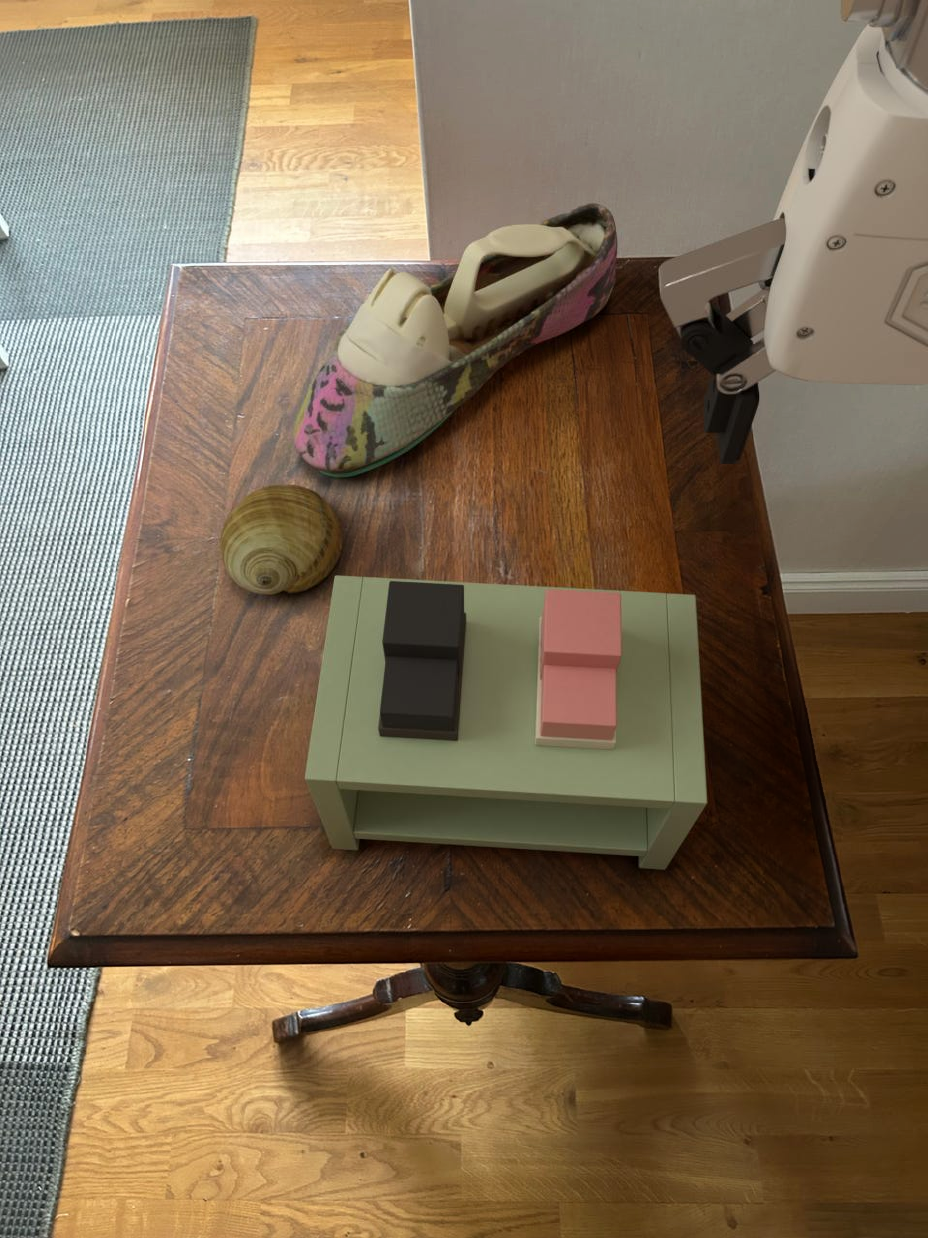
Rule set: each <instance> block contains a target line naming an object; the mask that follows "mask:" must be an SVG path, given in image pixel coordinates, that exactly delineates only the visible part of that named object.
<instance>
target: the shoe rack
mask: <svg viewBox="0 0 928 1238" xmlns="http://www.w3.org/2000/svg"><path fill="white" fill-rule="evenodd" d="M390 581H401V582H420V583H438V584H457V585H464V613H466V633H465V647H464V661H463V675H462V689H461V702H460V716H459V730H458V740H457V741H451V740H434V739H417V738H401V737H384V736H380V735H379V730H378V726H379V717H380V705H381V696H382V687H383V679H384V670H385V657H384V650H383V644H382V640H383V631H384V623H385V614H386V606H387V597H388V589H389V582H390ZM546 589H553V590H572V591H590V592H609V593H620V594H621V625H622V657H621V660H620V663H619V667H618V670H617V674H616V698H617V726H616V744H615V747H614V749H613V750H610V749H593V748H576V747H559V746H542V745H535V723H536V692H537V660H538V628H539V619H540V617H542V613H543V606H544V598H545V591H546ZM331 592H332V593H331V599H330V604H329V605H330V606H329V612H328V619H327V626H326V634H325V639H324V646H323V653H322V660H321V666H320V673H319V681H318V687H317V694H316V699H315V700H316V701H315V706H314V712H313V721H312V726H311V732H310V734H311V735H310V739H309V740H310V741H309V748H308V754H307V760H306V767H305V774H304V780H305V783H306V785H307V788H308V790H309V793H310V795H311V798H312V801H313V802H314V805H315V807H316V811H317V814H318V816H319V819H320V821H321V823H322V826H323V828H324V829H323V830H324V832H325V833H326V836H327V838H328V841H329V843H330V846H331V848H332V850H344V851H359V848H360V840H372V841H373V840H375V841H392V842H405V843H406V842H407V843H422V844H424V843H425V844H439V845H456V846H469V847H470V846H471V847H472V846H473V847H488V848H502V849H517V850H518V849H519V850H537V851H549V852H550V851H551V852H552V851H553V852H566V853H583V854H598V855H599V854H600V855H617V856H629V857H631V856H632V857H638V869H647V870H650V869H651V870H664V871H665V870H666V869H667V867H668V866H669V865H670V863H671V861H672V860H673V858H674V857H675V855H676V853H677V852H678V850H679V849H680V847H681V846H682V844H683V842H684V841H685V839H686V837H687V836H688V834H689V833H690V831H691V829H692V828H693V826H694V825H695V823H696V821H698V819H699V817H700V815H701V814H702V812H703V811H704V809H705V807H706V806H707V804H708V791H707V775H706V774H707V772H706V759H705V758H706V754H705V753H706V752H705V738H704V737H705V736H704V721H703V720H704V719H703V701H702V685H701V683H702V682H701V667H700V666H701V665H700V648H699V647H700V645H699V632H698V631H699V630H698V613H697V611H698V610H697V597H696V594H685V593H668V592H652V591H635V590H634V591H633V590H616V589H595V588H577V587H560V586H559V587H558V586H557V587H556V586H542V585H541V586H540V585H539V586H538V585H523V584H522V585H521V584H503V583H486V582H485V583H484V582H483V583H482V582H467V581H466V582H464V581H449V580H448V581H447V580H446V581H445V580H428V579H411V578H410V579H408V578H393V577H392V578H390V577H371V576H355V575H335V576H334V579H333V585H332V591H331Z"/></svg>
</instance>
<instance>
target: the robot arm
mask: <svg viewBox="0 0 928 1238" xmlns="http://www.w3.org/2000/svg"><path fill="white" fill-rule="evenodd" d="M840 16H841V20H842V21H843V22H867V23H868V24H867V25H866V26H865V27H864V29H862V31H861V33H860V34H859V36H858V37H857V39H856V41H855V43H854V44H853V46H852V47H851V50H850V51H849V53H848V55H847V56H846V58H845V59H844V61H843V63H842V65H841V66H840V69H839V70H838V73H836V76H835V78H834V79H833V82H832V83H831V85H830V87H829V89H828V91H827V93H826V95H825V97H824V99H823V101H822V103H821V105H820V107H819V108H818V111H817V113H816V115H815V117H814V119H813V122H812V123H811V126H810V128H809V130H808V132H807V135H806V137H805V139H804V141H803V144H802V146H801V148H800V151H799V153H798V155H797V158H796V160H795V162H794V165H793V167H792V170H791V172H790V174H789V178H788V180H787V183H786V185H785V188H784V190H783V192H782V195H781V198H780V201H779V202H778V203H779V204H778V206H777V209H776V211H775V215H774V217H773V220H771V221H769V222H767V223H764V224H761V225H758V226H756V227H753V228H750V229H747V230H745V231H742V232H739V233H736V234H734V235H732V236H729V237H726V238H723V239H721V240H720V239H719V240H718V241H715V242H712V243H710V244H707V245H705V246H702V247H699V248H696V249H694V250H691V251H688V252H686V253H682V254H681V255H677V256H675V257H672V258H669V259H667V260H664V262H662V263H661V265H659V268H658V288H659V299H660V301H661V304H662V305H663V307H664V309H665V312H666V314H667V315H668V317H669V319H670V321H671V324H672V326H673V328H674V329H675V330H676V332H677V334H678V336H679V339H680V344H681V348H682V349H683V350H684V352H686V353H687V354H688V355H689V356H691V358H693V359H694V360H695V361H696V362H698V363H699V364H700V365H701V367H703V368H704V369H705V370H706V371H708V372H709V374H711V375H710V378H709V382H708V386H707V390H706V394H705V398H704V402H703V411H702V413H703V415H702V416H703V417H702V418H703V428H704V433H705V434H717V444H718V446H717V447H718V457H719V463H720V465H735V464H736V462H740V461H741V458H742V455H743V452H744V449H745V446H746V444H747V440H748V437H749V436H750V435H749V434H750V431H751V428H752V425H753V423H754V419H755V416H756V414H757V411H758V408H759V405H760V387H759V382H761V381H763V380H764V379H766V378H767V377H769V376H770V375H772V374H773V373H775V372H777V373H779V374H781V375H783V376H786V377H789V378H792V379H795V380H800V381H804V382H812V383H827V384H828V383H830V384H847V385H848V384H852V385H854V384H855V385H885V386H887V385H888V386H889V385H891V386H928V0H840ZM757 283H758V286H759V288H760V289H761V290H759V291H758V292H757V293H755V294H754V295H752V296H751V297H750V298H748V299H747V300H745V301H744V302H742V303H740V304H739V305H738V306H736V307H735V308H734V309H732V310H731V311H729V312H728V313H727V314H725V313H724V312H723V311H722V310H721V309H720V308H719V307H718V306H717V305H716V304H715V303H713V302H712V301H711V300H713V299H715V298H717V297H720V296H723V295H725V294H728V293H731V292H734V291H737V290H740V289H742V288H746V287H748V286H751V285H754V284H757ZM761 332H763V337H762V338H760V339H759V340H758V341H756V342H754V340H753V338H754V337H756V336H757V335H758V334H760V333H761Z"/></svg>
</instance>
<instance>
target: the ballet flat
mask: <svg viewBox="0 0 928 1238" xmlns="http://www.w3.org/2000/svg"><path fill="white" fill-rule="evenodd" d="M618 244H619V243H618V234H617V227H616V222H615V217H614V216H613V214H612V212H611V210H609V209H608V208H607V207H605V206H604V205H602V204H599V203H594V202H591V203H585V204H582V205H579V206H576V207H573V209H570V210H569V211H567V212H565V213H561V214H558V215H556V216H553V217H550V218H548V219H545V220H543V221H540V222H539V223H537V224H533V223H526V224H525V223H522V224H512V225H507V226H502V227H499V228H497V229H494V230H492V231H490V232H489V234H487V235H486V236H485V237H482V238H479V239H477V240H474V241H472V242H471V243H469V245H467V247H466V248H465V250H464V252H463V255H462V257H461V260H460V262H459V265H458V266H457V270H456V273H454V274H452V275H449V276H448V277H446V278H444V279H443V280H440V281H439V282H437V283H435V284H433V285H430V286H428V285H426V284H425V283H424V281H422V280H420V279H418V278H417V277H416V276H415V275H412V274H411V273H409V272H406V271H401V272H398V273H395V272H394V269H393V268H389V269H387V270H386V272H385V273H384V274H383V276H382V277H381V279H379V281H378V283H376V285H375V287H374V288H373V289H372V291H371V292H370V294H369V295H368V296H367V298H366V299H365V301H364V302H362V304H361V305H360V306H359V309H358V310H357V312H356V314H355V315H354V317H353V319H352V321H351V322H350V324H349V325H348V326H347V327H346V328H344V329H343V330H342V331H341V332H340V333H339V335H337V337H336V338H335V340H334V342H333V344H332V346H331V349H330V352H329V353H328V356H327V358H326V359H325V361H324V362H323V364H322V366H321V368H320V369H319V371H318V373H317V375H316V377H315V379H314V380H313V382H312V384H311V386H310V388H309V389H308V392H307V394H306V396H305V398H304V400H303V402H302V404H301V407H300V409H299V412H298V415H297V418H296V421H295V426H294V443H295V447H296V449H297V453H299V455H300V456H301V458H303V460H304V461H305V462H306V463H308V465H310V466H311V467H312V468H314V469H315V470H317V471H319V472H320V473H322V474H323V475H326V476H328V477H332V478H349V477H355V476H358V475H360V474H363V473H366V472H369V471H371V470H374V469H377V468H379V467H380V466H383V465H385V464H387V463H389V462H391V461H393V460H395V459H396V458H398V457H400V456H402V455H404V454H405V453H407V452H408V451H410V450H411V449H413V448H414V447H415V446H417V445H418V444H419V443H421V442H422V441H423V440H424V439H426V438H427V437H428V436H429V435H431V434H433V432H434V431H435V430H436V429H438V427H440V426H441V425H442V424H443V423H444V422H445V421H446V420H447V419H448V418H449V417H450V416H451V415H452V413H454V412H455V411H456V410H457V409H458V408H460V407H461V406H462V405H463V404H464V403H466V402H467V401H468V400H470V399H471V398H473V397H474V395H476V394H477V392H478V391H479V390H480V389H481V388H482V387H483V386H484V385H485V384H486V383H487V382H488V380H489V379H490V378H491V377H492V376H493V375H494V374H495V373H497V372H498V371H499V370H500V369H502V367H504V366H505V365H506V364H507V363H508V362H510V361H512V360H513V359H514V358H516V357H518V356H519V355H520V354H522V353H523V352H524V351H526V350H529V349H530V348H532V347H533V346H535V345H537V344H540V343H542V342H545V341H547V340H551V339H553V338H556V337H558V336H560V335H563V334H565V333H567V332H569V331H571V330H572V329H573V330H574V328H576V327H577V326H579V325H581V324H583V323H585V322H587V321H590V320H591V319H593V318H594V317H595V316H596V315H597V314H598V313H600V312H601V310H603V308H604V307H605V306H606V304H607V303H608V301H609V298H610V296H611V294H612V291H613V289H614V286H615V282H616V266H617V265H616V264H617V258H618V257H617V256H618V246H619V245H618Z"/></svg>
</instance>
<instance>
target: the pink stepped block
mask: <svg viewBox="0 0 928 1238" xmlns="http://www.w3.org/2000/svg"><path fill="white" fill-rule="evenodd" d="M621 657H622V625H621V594H620V593H609V592H590V591H572V590H553V589H546V591H545V598H544V606H543V613H542V617H540V619H539V628H538V660H537V692H536V723H535V745H542V746H559V747H576V748H593V749H610V750H613V749H614V747H615V744H616V726H617V698H616V674H617V670H618V667H619V663H620V660H621Z"/></svg>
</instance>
